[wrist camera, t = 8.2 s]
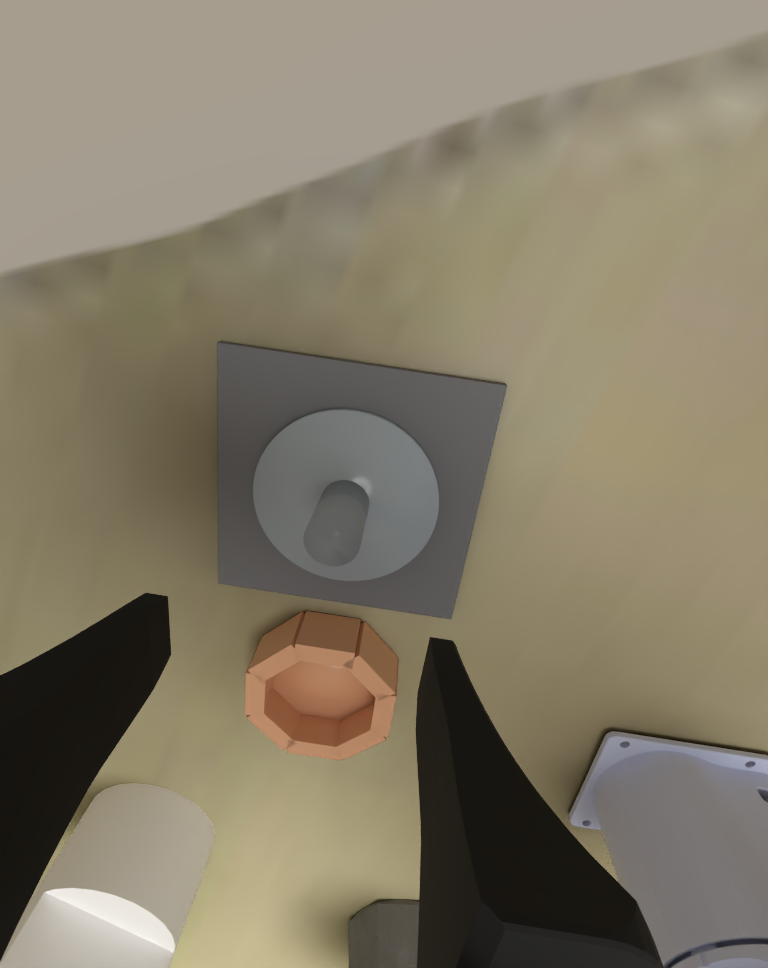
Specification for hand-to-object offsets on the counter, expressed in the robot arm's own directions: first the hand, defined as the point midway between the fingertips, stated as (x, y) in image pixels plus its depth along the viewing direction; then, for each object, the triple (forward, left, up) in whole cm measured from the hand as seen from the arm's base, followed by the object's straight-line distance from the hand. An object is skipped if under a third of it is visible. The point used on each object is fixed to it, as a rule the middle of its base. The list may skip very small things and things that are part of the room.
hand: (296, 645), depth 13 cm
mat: (0, 0, -10) cm, 10 cm away
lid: (0, 0, -10) cm, 10 cm away
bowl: (0, +11, -10) cm, 15 cm away
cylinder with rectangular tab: (+11, +28, -10) cm, 32 cm away
